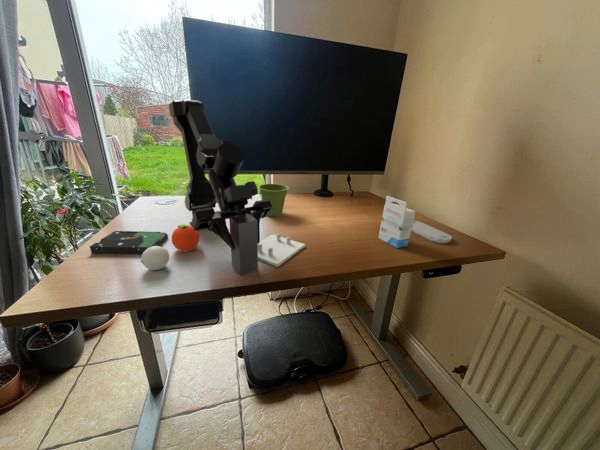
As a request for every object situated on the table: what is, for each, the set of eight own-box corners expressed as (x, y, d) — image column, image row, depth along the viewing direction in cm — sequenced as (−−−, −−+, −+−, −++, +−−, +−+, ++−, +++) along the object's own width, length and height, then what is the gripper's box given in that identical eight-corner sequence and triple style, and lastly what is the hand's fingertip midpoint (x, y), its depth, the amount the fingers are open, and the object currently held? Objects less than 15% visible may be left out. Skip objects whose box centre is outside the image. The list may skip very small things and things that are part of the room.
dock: (241, 253, 66) (241, 244, 65) (272, 236, 77) (272, 228, 76) (277, 266, 60) (277, 257, 59) (304, 246, 72) (305, 238, 70)
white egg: (148, 263, 59) (143, 242, 57) (173, 261, 60) (170, 241, 58) (135, 281, 52) (130, 258, 50) (164, 279, 53) (160, 256, 51)
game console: (457, 236, 80) (439, 239, 77) (455, 243, 81) (437, 246, 78) (415, 218, 95) (399, 220, 92) (414, 224, 96) (398, 225, 93)
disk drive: (91, 256, 61) (152, 256, 63) (88, 246, 60) (150, 246, 62) (116, 239, 71) (169, 239, 72) (114, 230, 70) (167, 230, 71)
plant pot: (253, 217, 93) (253, 188, 89) (264, 208, 104) (264, 182, 99) (283, 221, 91) (284, 191, 86) (291, 211, 101) (292, 185, 97)
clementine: (167, 247, 66) (163, 224, 64) (192, 240, 71) (189, 218, 69) (180, 258, 62) (176, 233, 59) (205, 250, 66) (203, 226, 64)
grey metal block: (232, 266, 60) (229, 216, 55) (248, 261, 62) (247, 213, 57) (240, 275, 56) (238, 223, 51) (257, 269, 59) (257, 220, 54)
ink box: (408, 246, 76) (419, 201, 70) (397, 248, 74) (407, 202, 68) (388, 235, 83) (397, 194, 77) (377, 237, 81) (385, 195, 75)
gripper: (189, 171, 48) (212, 242, 44) (270, 167, 59) (294, 223, 55) (183, 200, 56) (203, 261, 53) (255, 191, 67) (275, 242, 63)
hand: (246, 246), depth 56 cm, fingers open, 6 cm apart
